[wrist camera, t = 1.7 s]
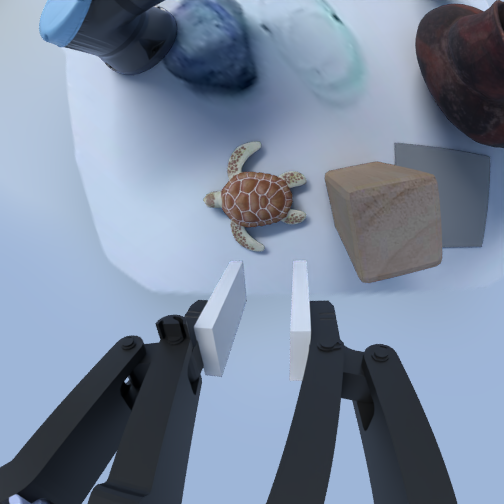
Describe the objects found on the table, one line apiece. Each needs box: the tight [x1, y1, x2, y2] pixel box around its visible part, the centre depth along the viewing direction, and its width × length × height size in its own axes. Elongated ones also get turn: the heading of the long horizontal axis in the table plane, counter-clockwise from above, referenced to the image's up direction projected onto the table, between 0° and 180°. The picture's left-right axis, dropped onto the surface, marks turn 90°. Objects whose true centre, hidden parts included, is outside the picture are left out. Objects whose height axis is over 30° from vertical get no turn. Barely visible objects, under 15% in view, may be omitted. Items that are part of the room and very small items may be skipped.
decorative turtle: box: [203, 142, 306, 251], centre depth 42 cm, size 18×17×5 cm
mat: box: [395, 143, 490, 247], centre depth 38 cm, size 18×22×1 cm
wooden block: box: [325, 162, 442, 283], centre depth 32 cm, size 10×10×20 cm
